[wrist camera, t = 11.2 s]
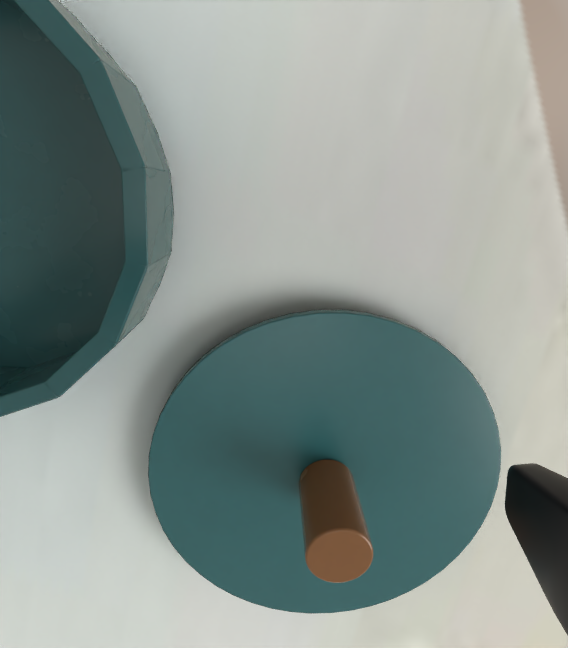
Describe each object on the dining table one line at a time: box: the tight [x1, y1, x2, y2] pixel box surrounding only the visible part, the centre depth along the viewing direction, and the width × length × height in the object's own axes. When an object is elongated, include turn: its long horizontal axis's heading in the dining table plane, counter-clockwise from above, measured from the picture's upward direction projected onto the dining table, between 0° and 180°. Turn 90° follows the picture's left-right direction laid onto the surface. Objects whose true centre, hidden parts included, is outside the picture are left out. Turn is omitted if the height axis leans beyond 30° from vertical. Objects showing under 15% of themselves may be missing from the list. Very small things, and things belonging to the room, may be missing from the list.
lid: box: [148, 310, 501, 613], centre depth 17 cm, size 15×15×5 cm
